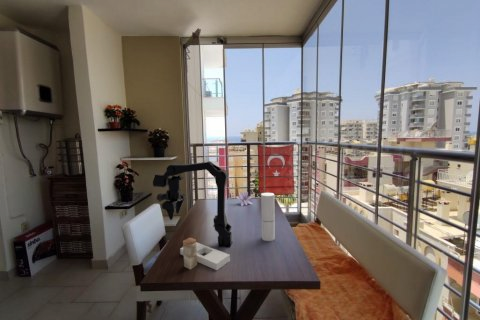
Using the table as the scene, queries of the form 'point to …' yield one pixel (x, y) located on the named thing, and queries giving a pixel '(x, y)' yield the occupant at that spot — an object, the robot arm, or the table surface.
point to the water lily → (244, 198)
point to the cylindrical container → (268, 216)
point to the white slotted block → (210, 256)
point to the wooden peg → (190, 253)
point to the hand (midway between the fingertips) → (174, 216)
